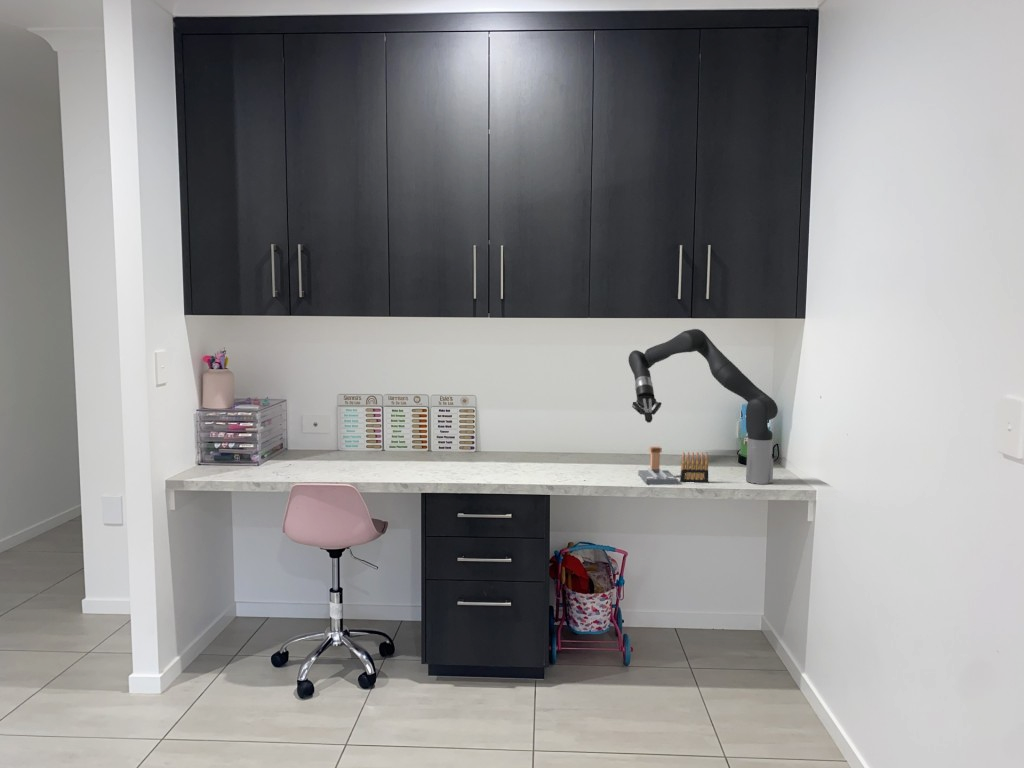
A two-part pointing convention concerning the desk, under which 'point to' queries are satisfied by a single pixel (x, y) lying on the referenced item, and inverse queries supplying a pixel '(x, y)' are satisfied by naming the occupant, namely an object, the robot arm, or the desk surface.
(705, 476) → the ammunition clip
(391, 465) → the desk surface
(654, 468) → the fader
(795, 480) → the desk surface
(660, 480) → the fader console
